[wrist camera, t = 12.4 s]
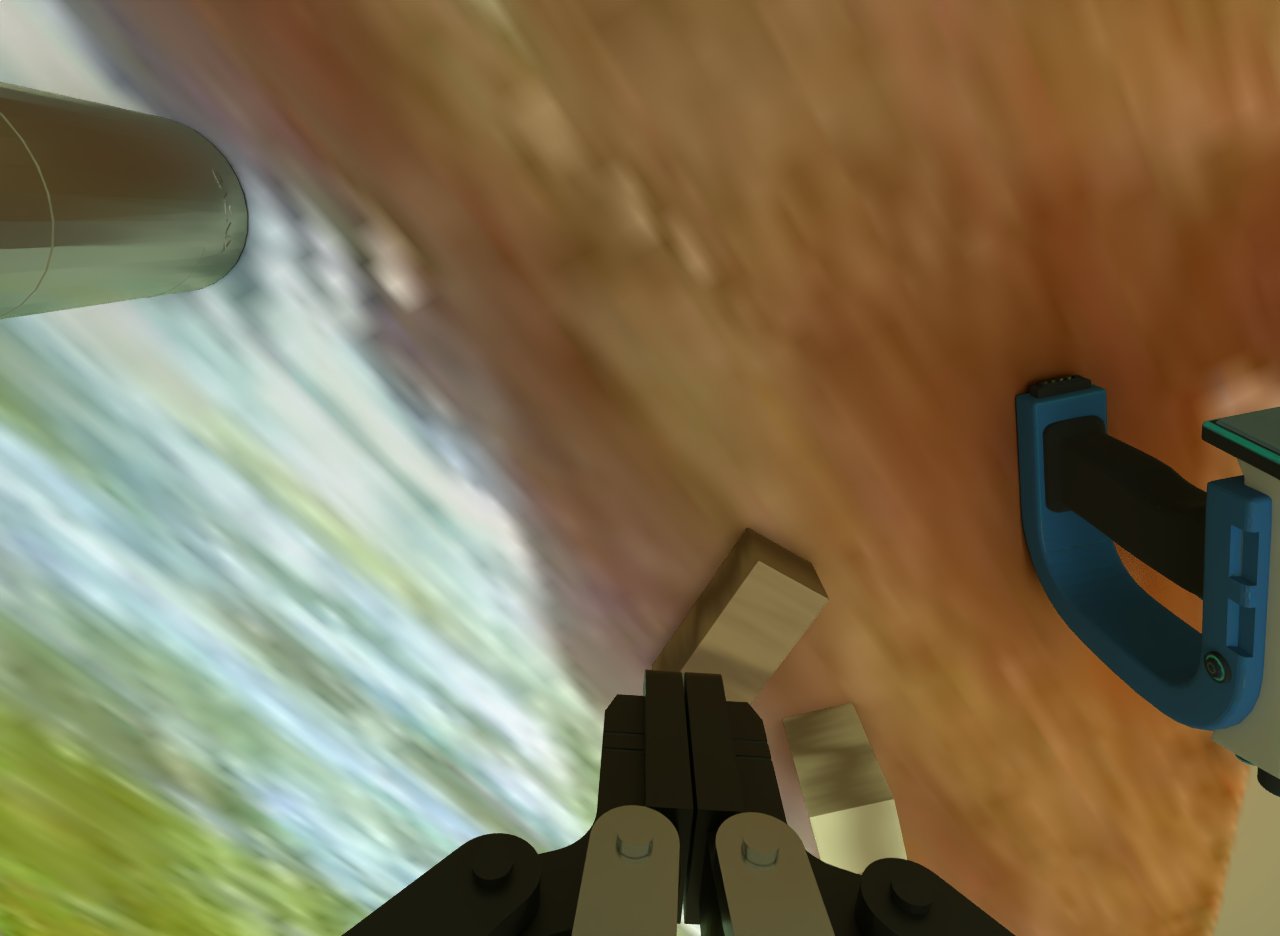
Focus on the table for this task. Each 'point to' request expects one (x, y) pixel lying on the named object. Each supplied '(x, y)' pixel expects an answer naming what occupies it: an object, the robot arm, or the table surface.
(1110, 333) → the table surface
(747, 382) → the table surface
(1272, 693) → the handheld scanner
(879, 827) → the beech block
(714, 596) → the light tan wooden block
